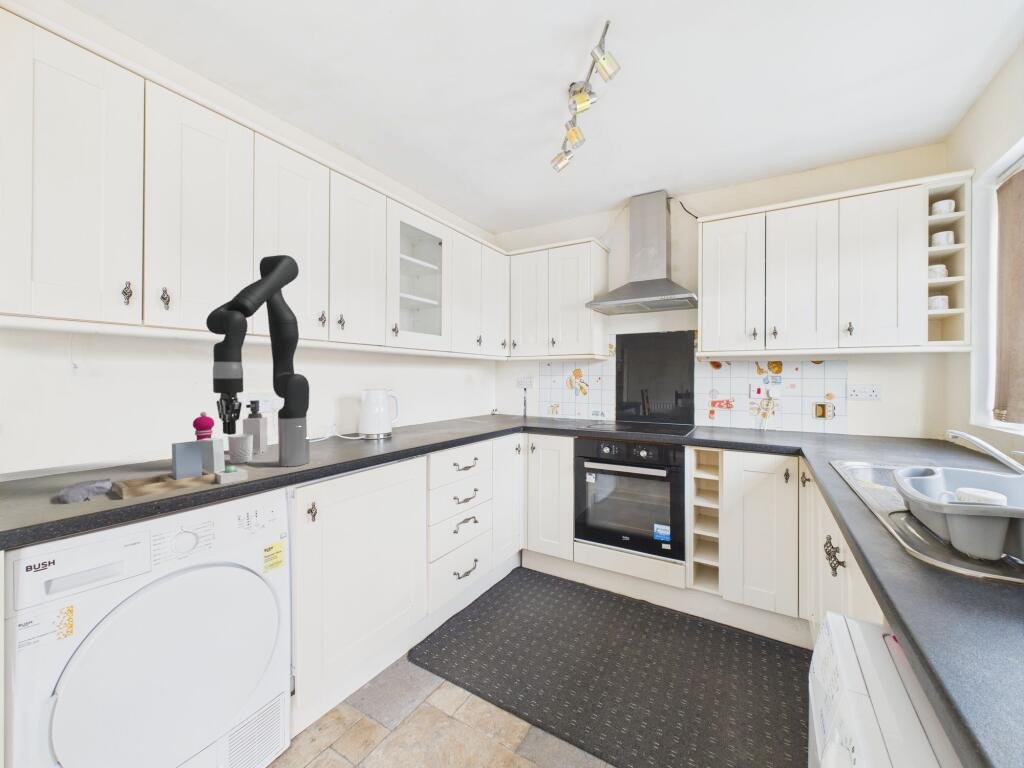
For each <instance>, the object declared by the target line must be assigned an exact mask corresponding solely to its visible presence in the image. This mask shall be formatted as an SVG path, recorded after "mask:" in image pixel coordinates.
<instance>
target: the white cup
mask: <svg viewBox="0 0 1024 768" xmlns="http://www.w3.org/2000/svg"><path fill="white" fill-rule="evenodd" d="M227 440H228V441H227V443H228V451H229V452H228V453H229V461H230V464H232V463H234V464H246V463H245V462H247V463H249V461H251V462H252V461H253V454H252V449H253V435H252V434H243V433H242V434H241V433H240V434H232V435H228V436H227Z"/></svg>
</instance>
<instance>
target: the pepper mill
mask: <svg viewBox="0 0 1024 768" xmlns="http://www.w3.org/2000/svg"><path fill="white" fill-rule="evenodd" d="M199 415H200V416H198V417H196V418H195V419H193V422H192V427H193V428H194V429H195V431H194V435H195V436H196V441H197V440H201V439H206V438H212V434H214V433H213V428H214V427H215V420H214V419H213V418H212V417H210V416H207V412H205V411H201V412H200V413H199Z"/></svg>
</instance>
